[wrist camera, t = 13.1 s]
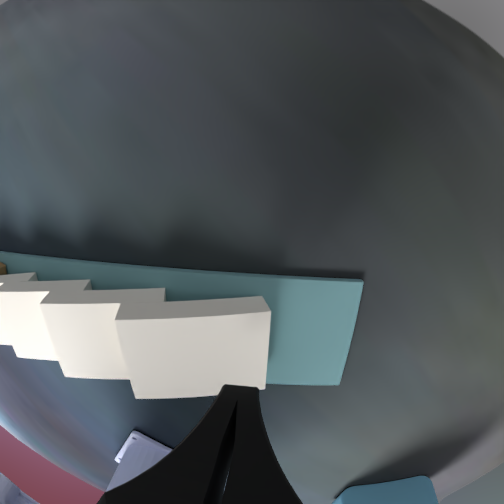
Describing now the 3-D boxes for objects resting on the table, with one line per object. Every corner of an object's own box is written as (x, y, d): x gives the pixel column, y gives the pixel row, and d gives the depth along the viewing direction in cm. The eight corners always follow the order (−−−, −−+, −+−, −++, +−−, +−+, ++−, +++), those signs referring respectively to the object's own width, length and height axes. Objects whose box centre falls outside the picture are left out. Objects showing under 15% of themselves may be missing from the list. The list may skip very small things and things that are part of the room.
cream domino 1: (27, 280, 14) (-38, 285, 12) (48, 345, 15) (-17, 343, 13) (35, 272, 15) (-28, 277, 13) (53, 333, 17) (-10, 333, 15)
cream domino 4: (271, 311, 13) (114, 320, 11) (265, 389, 14) (135, 398, 13) (262, 295, 14) (120, 303, 13) (257, 371, 16) (137, 379, 14)
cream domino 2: (82, 290, 13) (-7, 291, 12) (101, 362, 15) (17, 357, 13) (90, 279, 15) (4, 281, 13) (106, 347, 16) (25, 344, 15)
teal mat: (361, 279, 14) (363, 282, 13) (338, 380, 16) (339, 385, 16) (-11, 249, 16) (-14, 251, 16) (8, 322, 18) (6, 324, 18)
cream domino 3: (163, 301, 13) (39, 303, 11) (174, 378, 15) (65, 376, 13) (165, 287, 15) (50, 290, 13) (174, 361, 16) (71, 360, 14)
